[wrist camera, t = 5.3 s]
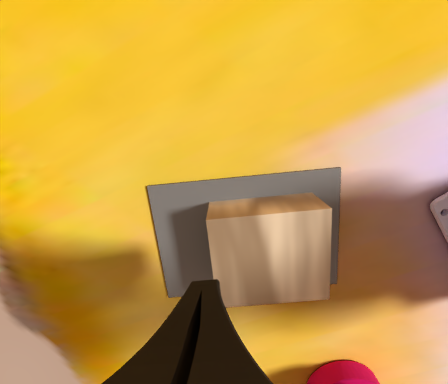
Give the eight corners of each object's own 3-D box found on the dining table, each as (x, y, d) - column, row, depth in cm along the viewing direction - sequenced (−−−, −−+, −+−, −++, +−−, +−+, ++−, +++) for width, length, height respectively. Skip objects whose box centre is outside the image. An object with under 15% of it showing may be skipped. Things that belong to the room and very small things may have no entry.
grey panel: (339, 167, 16) (341, 167, 16) (335, 282, 18) (336, 283, 18) (147, 185, 16) (146, 186, 16) (169, 295, 19) (168, 297, 19)
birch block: (217, 308, 15) (329, 299, 15) (205, 220, 13) (331, 208, 13) (218, 276, 18) (311, 269, 18) (209, 202, 16) (311, 192, 16)
